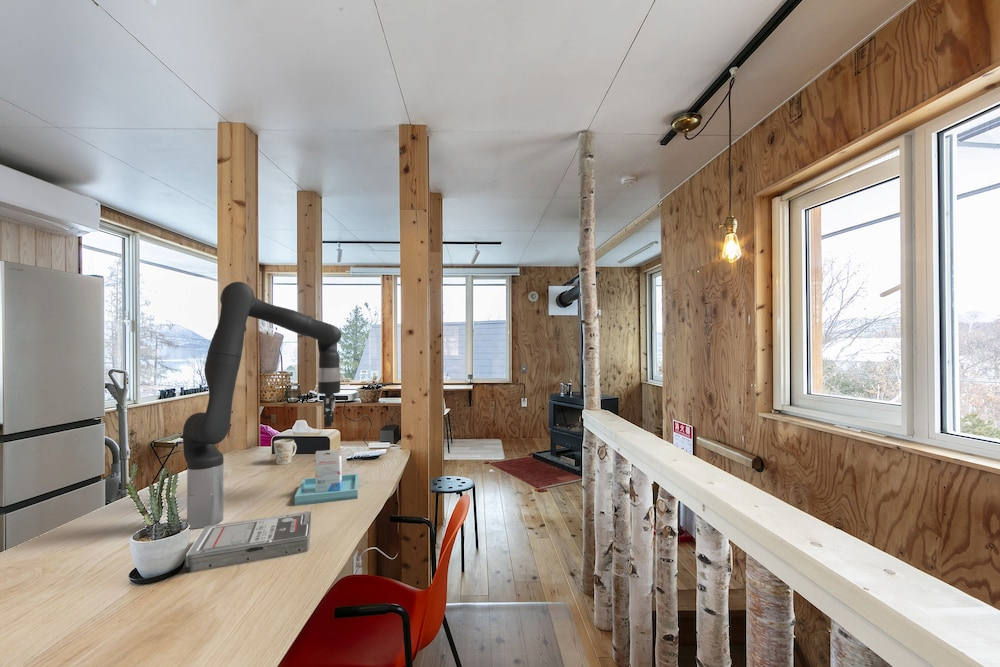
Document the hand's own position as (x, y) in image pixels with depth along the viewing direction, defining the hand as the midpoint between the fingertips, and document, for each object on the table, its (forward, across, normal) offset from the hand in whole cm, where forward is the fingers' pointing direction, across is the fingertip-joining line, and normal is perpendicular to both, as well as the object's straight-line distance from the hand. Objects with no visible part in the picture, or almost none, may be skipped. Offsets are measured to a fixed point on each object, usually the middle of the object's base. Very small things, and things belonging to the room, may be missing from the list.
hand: (329, 424), depth 158 cm
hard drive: (+26, -38, +16) cm, 49 cm away
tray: (+25, 0, 0) cm, 25 cm away
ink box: (+24, 0, 0) cm, 24 cm away
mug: (+25, +51, +22) cm, 61 cm away
